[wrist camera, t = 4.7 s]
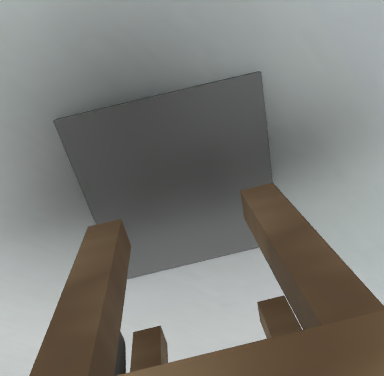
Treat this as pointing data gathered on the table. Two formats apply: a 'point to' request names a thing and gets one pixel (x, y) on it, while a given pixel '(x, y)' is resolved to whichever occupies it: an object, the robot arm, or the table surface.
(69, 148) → the mat
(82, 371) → the stool
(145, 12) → the table surface
